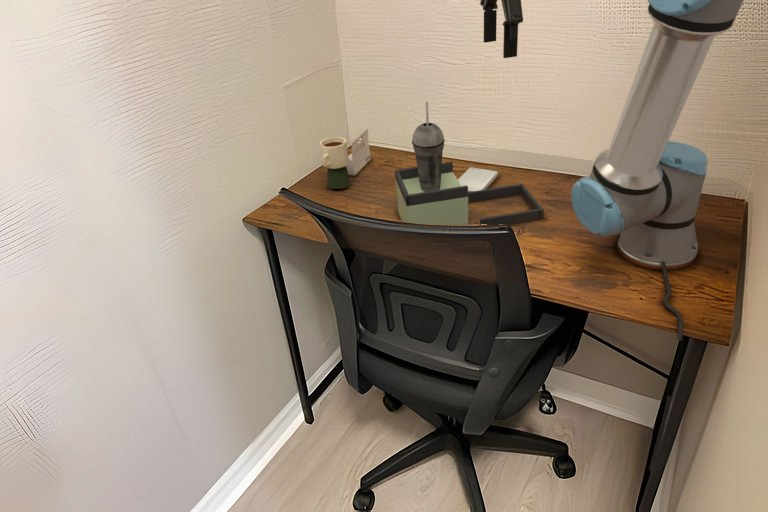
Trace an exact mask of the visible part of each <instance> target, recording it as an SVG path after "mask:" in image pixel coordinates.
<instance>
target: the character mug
mask: <svg viewBox="0 0 768 512" xmlns="http://www.w3.org/2000/svg"><path fill="white" fill-rule="evenodd" d="M347 144H348V143H347V139H346V138H344V137H341V136H331V137H330V136H329V137H326V138H324V139H322V140H320V142H319V148H320V149H319V150H320V155H321V160H322V161H321V163H322V166H323V168H327V170H326V181H327V182H326V183H327V187H328V188H329V189H335V190H340V189H346V188H348V187H350V185H351V179H350V175H348V171H347V164H348V163H349V159H348V156H349V153H348V145H347Z"/></svg>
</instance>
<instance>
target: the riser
mask: <svg viewBox="0 0 768 512" xmlns="http://www.w3.org/2000/svg"><path fill="white" fill-rule="evenodd" d="M394 176H395V177H394V179H395V187H396V188H395V189H396V201H397V202H396V203H397V212H398V215H399V218H400V220H401V222H402V221H403V222H408V223H418V224H432V225H468V226H469V203H471V202H473V203H474V202H479V201H485V200H486V201H487V200H492V199H498V198H505V197H511V196H517V195H520V196H521V197H522V198H523V200H524V201H525V203H527V205H528V206H529V207H530V208H531V209H530V210H524V211H518V212H517V211H516V212H511V213H510V212H509V213H504V214H497V215H493V216H492V215H491V216H485V217H479V226H480V225H481V224H487V225H499V224H506V225H505V226H508V225H515V224H520V223H521V224H522V223H528V222H534V221H539V220H543V219H544V211H545V210H544V209H543V207H542V206H541V204H540V203H539V201H538V200H536V198H535V197H534V196H533V195H532V193H531V192H530V191H529V189H528V188H527V187H526V186H525V185H524V183H517V184H511V185H505V186H499V187H491V188H487V189H485V190H479V191H472V192H468V186H461V185H460V183H459V181H458V178H457V176H456V174H455V173H454V163H453V161H444V162H442V171H441V184H440V189H439V190H434V191H428V192H424V191H422V190H421V186H420V181H419V175H418V168H417V166H412V167H405V168H399V169H394Z"/></svg>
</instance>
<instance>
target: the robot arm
mask: <svg viewBox="0 0 768 512" xmlns="http://www.w3.org/2000/svg"><path fill="white" fill-rule="evenodd" d="M500 1H501V5H502V10H503V15H504V21H503V22H502V26H503V45H502V46H503V47H502V48H503V49H502V51H503V52H502V53H503V54H502V58H503V59H508V58H509V59H510V58H516V57H518V42H519V41H518V39H519V24H521V23H523V22H524V15H523V6H522V0H500ZM744 1H745V0H647V3H649V4H648V7H647V14H648V15H649V17H650V19H651V21H652V23H653V24H652V28H651V29H650V32H649V36H648V38H647V42H646V44H645V47H644V49H643V52H642V55H641V58H640V61H639V64H638V67H637V69H636V72H635V75H634V78H633V81H632V84H631V85H630V88H629V91H628V94H627V97H626V100H625V103H624V106H623V108H622V112H621V114H620V116H619V120H618V122H617V125H616V128H615V131H614V134H613V136H612V139H611V142H610V145H609V148H608V149H605V150H603V151H601V152H599V154H598V155H596V158H595V159H594V163H593V166H592V169H591V172H590V174H589V175H588V176H584V177H581V178H580V179H578V180H577V181H576V182H575V183H574V184H573V186H572V188H571V192H570V200H571V201H570V202H571V206H572V210H573V211H574V213H575V216H576V218H577V220H578V221H579V223H580V224H581V225H582V227H584V228H585V229H586V230H587V232H589V233H590V234H592V235H595V236H597V237H603V238H605V237H606V238H607V237H609V236H613V235H617V244H616V249H617V251H618V254H620V255H621V257H623V258H624V259H625V260H626V261H628V262H629V263H631V264H633V265H635V266H637V267H641V268H644V269H649V270H653V271H654V270H655V271H662V276H663V281H664V285H665V289H666V294H665V296H664V297H663V299H662V303H663V305H664V307H665V308H666V309H667V310H668V311H670V312H672V313H673V314H674V315H675V316H676V318H677V321H678V324H677V338H676V339H677V341H679V342H682V341H683V336H684V324H685V323H684V318H683V316H682V314H681V313H680V311H679V310H677V308H675V307H674V306H672V305H670V303H669V299H670V298H671V295H672V287H671V282H670V279H669V274H668V271H676V270H682V269H684V268H687V267H689V266H691V265H692V264H693V263H694V262H695V260H696V258H697V256H698V252H699V245H698V238H697V232H696V227H695V220H696V215H697V211H698V208H699V203H700V199H701V195H702V190H703V187H704V182H705V178H706V176H707V175H708V172H707V167H708V162H709V160H708V157H707V155H706V153H705V152H704V151H702V150H701V149H699V148H697V147H695V146H693V145H690V144H687V143H683V142H679V141H672V140H670V138H671V136H672V134H673V132H674V130H675V127H676V125H677V123H678V121H679V119H680V116H681V114H682V111H683V109H684V107H685V105H686V103H687V100H688V98H689V96H690V93H691V91H692V89H693V86H694V85H695V82H696V80H697V77H698V76H699V73H700V70H701V69H702V66H703V64H704V61H705V60H706V58H707V55H708V53H709V50H710V48H711V46H712V44H713V41H714V39H715V38H716V37H717V36H719V35H722V34H723V33H725V32H728V31H729V30H730V29H731V28H732V27H733V26H734V25H733V24H734V22H735V20H736V18H737V15H738V14H739V11H740V9H741V7H742V5H743V3H744ZM479 4H480V6H481V7H482V11H483V43H491V42H497V22H498V21H497V19H498V18H497V16H498V11H497V9H499V6H498V0H480V2H479ZM677 378H678V376H676V377H675V379H677ZM676 383H677V380H675V381H674V385H673V389H672V393H671V395H667V398H666V402H665V406H664V411H663V415H662V418H661V422H660V425H659V430H658V433H657V437H656V441H655V444H654V448H653V452H652V456H651V459H650V464H649V468H648V471H649V472H650V473H653V472H654V470H655V466H656V462H657V458H658V454H659V452H660V451H659V450H660V446H661V443H662V439H663V436H664V434H665V433H664V432H665V428H666V425H667V421H668V419H669V413H670V410H671V405H672V401H673V396H674V393H675V388H676Z"/></svg>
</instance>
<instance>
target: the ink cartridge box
mask: <svg viewBox="0 0 768 512" xmlns="http://www.w3.org/2000/svg"><path fill="white" fill-rule="evenodd" d="M360 139H361V140H360ZM359 140H360V142H359ZM370 149H371V148H370V143H369V130H368V128H366V129H365V130H364V131H363V132H362V133H361V134H359V136H357V138H356V139H354V141H353V142H351V143H350V150H351V153H350V154H348V159H349V163H348V164H347V165H346V168H347V171H348V175H349V176H353V177H354V176H356V175H357V174H358V173H359V172H360V171H361V170H362V169H363V168H364V167H365V166H366V165H367V164H368V163H369V162H370V161H371V160H372V156H371V150H370Z"/></svg>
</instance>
